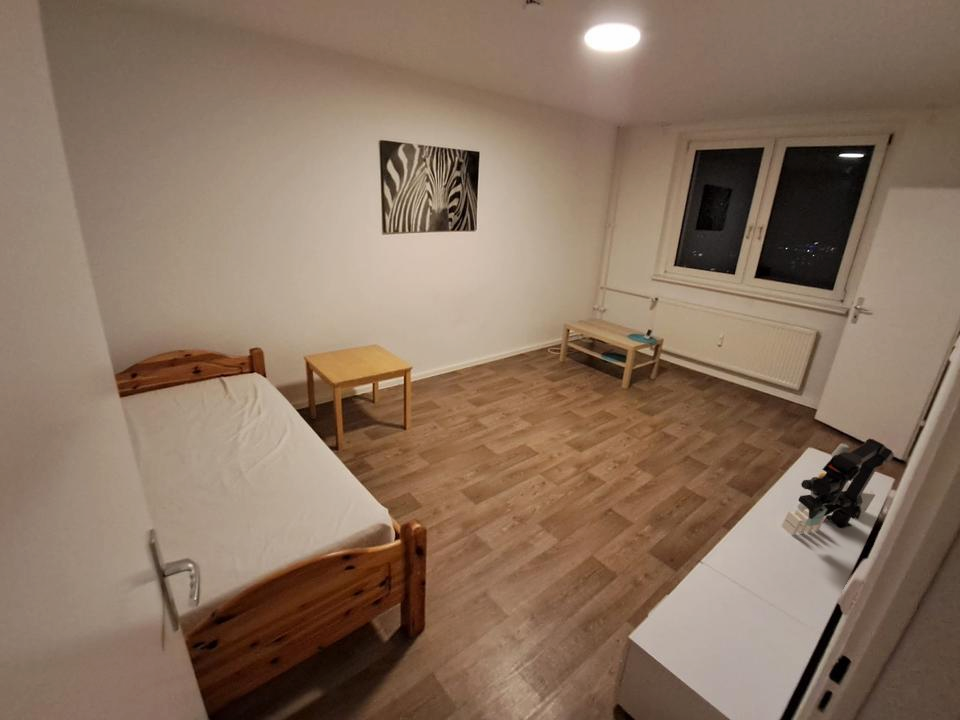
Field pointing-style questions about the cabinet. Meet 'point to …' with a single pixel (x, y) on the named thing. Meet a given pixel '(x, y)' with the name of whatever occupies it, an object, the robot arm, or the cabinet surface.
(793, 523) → the domino
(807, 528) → the domino
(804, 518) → the domino
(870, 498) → the supplement box
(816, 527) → the end domino
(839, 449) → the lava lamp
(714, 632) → the cabinet surface
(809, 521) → the domino
